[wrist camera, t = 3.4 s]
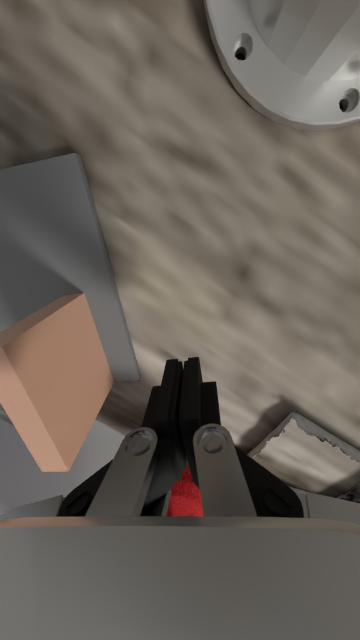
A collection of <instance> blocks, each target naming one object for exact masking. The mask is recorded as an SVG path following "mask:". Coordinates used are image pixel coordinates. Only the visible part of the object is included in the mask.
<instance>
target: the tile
mask: <svg viewBox="0 0 360 640" xmlns="http://www.w3.org/2000/svg"><path fill="white" fill-rule="evenodd" d="M113 384H114V380H113V377H112V374H111V371H110V368H109V365H108V362H107V359H106V356H105V353H104V350H103V347H102V344H101V341H100V338H99V335H98V332H97V329H96V326H95V323H94V320H93V317H92V314H91V311H90V308H89V305H88V302H87V300H86V297H85V294H84V293H79V294H72V295H64V296H62V297H60V298H59V299H57V300H55V301H53V302H52V303H50V304H48V305H47V306H45V307H43V308H41V309H40V310H38V311H36V312H34V313H33V314H31V315H29V316H28V317H26V318H24V319H22V320H21V321H19V322H17V323H16V324H14V325H12V326H10V327H9V328H7V329H5V330H3V331H2V332H0V403H1V404H2V406H3V408H4V409H5V411H6V413H7V414H8V416H9V418H10V419H11V421H12V423H13V424H14V426H15V428H16V429H17V431H18V432H19V434H20V436H21V437H22V439H23V441H24V442H25V444H26V446H27V447H28V449H29V451H30V452H31V454H32V456H33V457H34V459H35V461H36V462H37V464H38V465H39V467H40V469H41V470H42V472H53V471H69V469H70V467H71V465H72V463H73V461H74V459H75V458H76V456H77V454H78V451H79V449H80V448H81V446H82V444H83V442H84V440H85V438H86V436H87V434H88V432H89V430H90V428H91V426H92V424H93V422H94V421H95V419H96V417H97V415H98V413H99V411H100V409H101V407H102V405H103V403H104V401H105V399H106V397H107V395H108V393H109V391H110V389H111V387H112V386H113Z"/></svg>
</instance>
